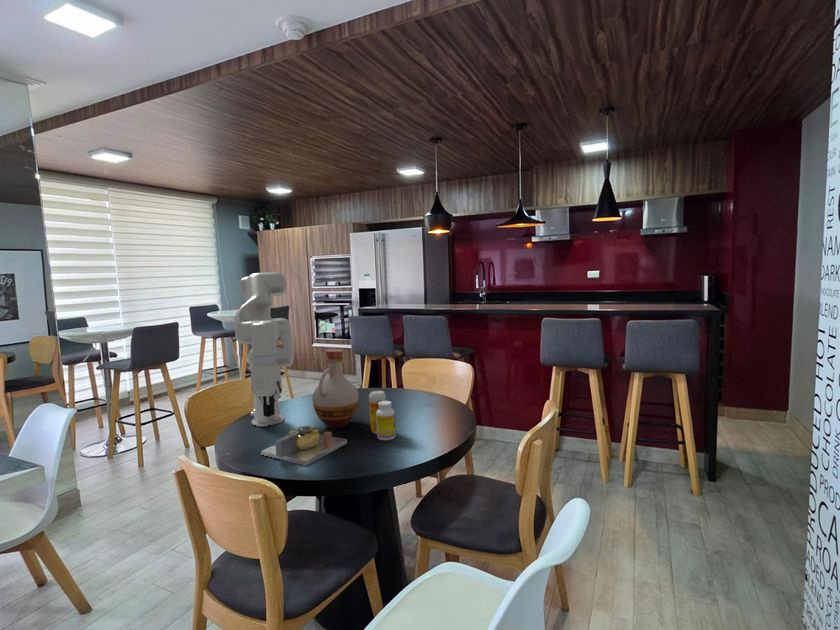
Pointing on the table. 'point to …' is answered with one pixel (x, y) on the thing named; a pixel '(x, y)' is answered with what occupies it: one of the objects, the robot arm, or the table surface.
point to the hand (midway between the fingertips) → (269, 415)
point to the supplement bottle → (385, 421)
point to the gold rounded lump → (297, 440)
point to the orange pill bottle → (375, 407)
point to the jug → (335, 394)
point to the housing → (309, 450)
